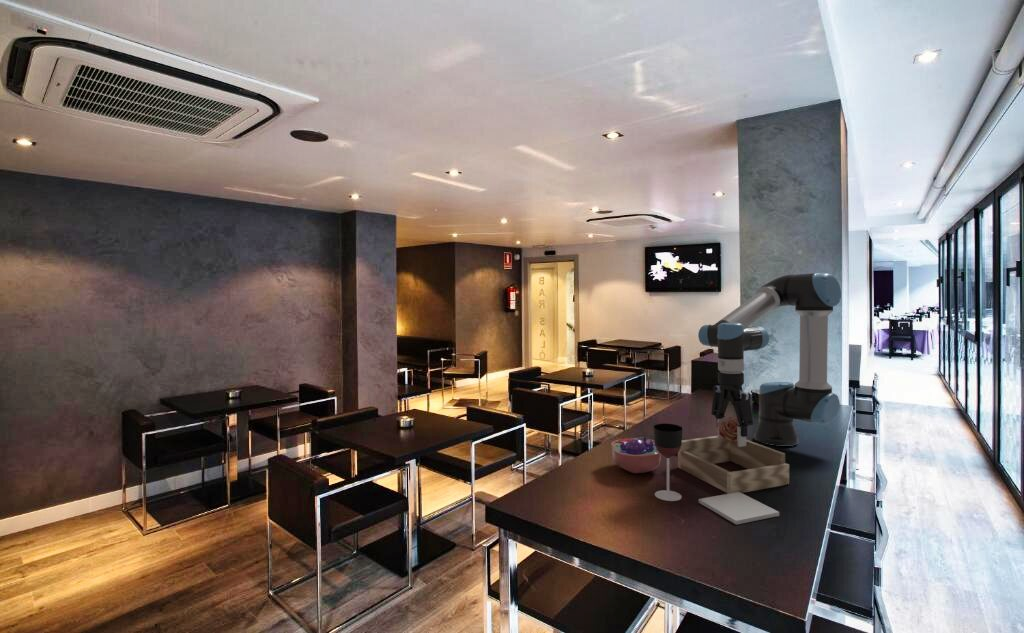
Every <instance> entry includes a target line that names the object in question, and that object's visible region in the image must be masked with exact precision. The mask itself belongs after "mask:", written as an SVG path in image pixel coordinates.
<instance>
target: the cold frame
mask: <svg viewBox="0 0 1024 633" xmlns="http://www.w3.org/2000/svg"><path fill="white" fill-rule="evenodd" d="M688 439H689V440H682V443H681V447H680V450H679V452H678V455H677V468H679V469H680V470H682V471H684V472H686V473H688V474H690V475H691V476H694V477H696V478H697V479H699V480H701V481H704V482H705V483H707V484H709V485H711V486H713V487H715V488H717V489H719V490H720V491H722V492H724V493H725V494H729V493H735V492H740V493H742V494H744V493H748V492H754V491H759V490H764V489H766V490H767V489H770V488H776V487H783V486H786V485H787V484H788V485H790V464H789V463H786V453H785V452H783V451H779V450H776V449H774V448H771V447H768V446H767V445H766V446H765V445H764V444H761V443H758V442H754V441H751V440H749V439H746V446H742V447H738V446H737V444H736V443H735V442H730V443H729V442H727V443H725V440H724V439H718V435H713V436H705V437H697V438H688ZM724 443H725V444H724ZM731 461H732V462H731ZM728 462H731V463H733V462H734V464H736V465H738V464H739V465H738V466H740V465H741V467H742V468H745V469H742V470H735V471H729V470H728V469H725V468H723V467H721V466H718V465H717V464H721V463H728Z"/></svg>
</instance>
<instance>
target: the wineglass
mask: <svg viewBox="0 0 1024 633" xmlns="http://www.w3.org/2000/svg"><path fill="white" fill-rule="evenodd" d="M653 435H654V441H655V446H656V448H657V450H658V452H659V453H661V454H662V455H661V456H664V457H665V458H666V489H664V490H657V491H656V492H655V493H654V496H655V497H656V498H658V499H660V500H663V501H666V502H668V501H669V502H675V501H680V500H682V498H683V497H682V494H681V493H679V492H676V491H674V490H670V458H671V457H674V456H677V455H676V454H677V453H678V452H679V450H680V447H681V443H682V438H683V427H682V426H680V425H678V424H674V423H657V424H655V425H653Z"/></svg>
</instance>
